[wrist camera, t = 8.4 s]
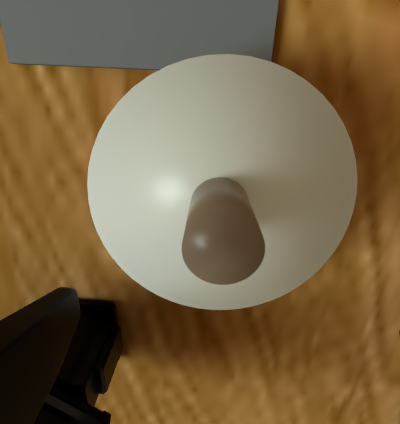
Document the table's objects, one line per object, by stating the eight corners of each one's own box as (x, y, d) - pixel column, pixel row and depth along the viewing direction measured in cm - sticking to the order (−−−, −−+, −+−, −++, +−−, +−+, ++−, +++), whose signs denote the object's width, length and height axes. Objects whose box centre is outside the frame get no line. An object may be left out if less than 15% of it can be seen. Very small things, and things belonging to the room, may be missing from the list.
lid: (106, 295, 17) (65, 371, 12) (77, 51, 12) (-13, 18, 7) (320, 306, 17) (364, 389, 12) (383, 61, 12) (503, 34, 7)
